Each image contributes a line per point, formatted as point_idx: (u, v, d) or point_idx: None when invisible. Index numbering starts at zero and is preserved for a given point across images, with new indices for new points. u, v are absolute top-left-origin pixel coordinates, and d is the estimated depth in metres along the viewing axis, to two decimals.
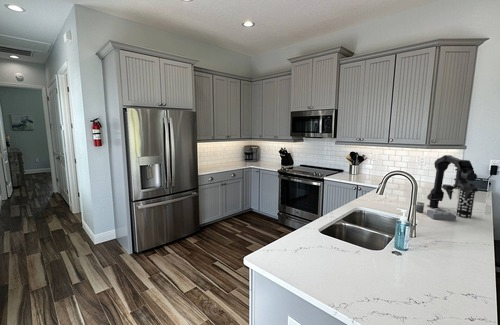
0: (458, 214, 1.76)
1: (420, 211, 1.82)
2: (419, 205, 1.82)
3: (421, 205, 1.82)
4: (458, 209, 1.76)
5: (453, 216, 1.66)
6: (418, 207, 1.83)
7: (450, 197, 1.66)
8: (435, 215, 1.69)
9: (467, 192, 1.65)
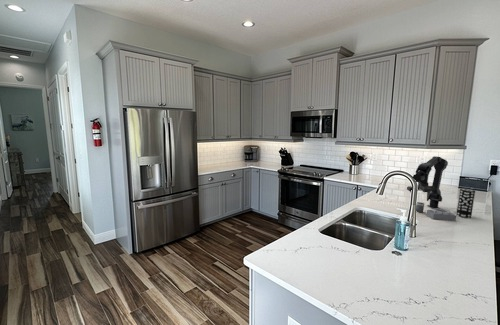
0: (458, 214, 1.76)
1: (420, 211, 1.82)
2: (419, 205, 1.82)
3: (421, 205, 1.82)
4: (458, 209, 1.76)
5: (453, 216, 1.66)
6: (418, 207, 1.83)
7: None
8: (435, 215, 1.69)
9: (428, 193, 1.82)
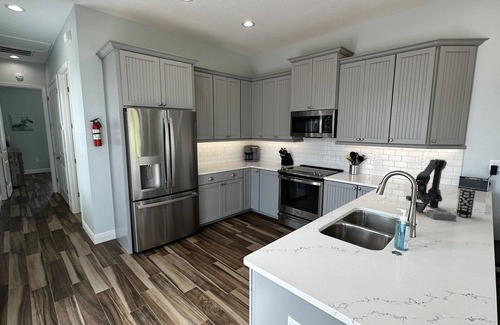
0: (458, 214, 1.76)
1: (420, 211, 1.82)
2: (419, 205, 1.82)
3: (421, 205, 1.82)
4: (458, 209, 1.76)
5: (453, 216, 1.66)
6: (418, 207, 1.83)
7: None
8: (435, 215, 1.69)
9: (424, 202, 1.83)
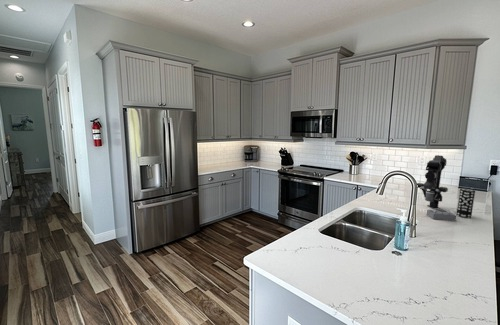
0: (458, 214, 1.76)
1: (427, 199, 1.77)
2: (427, 193, 1.77)
3: (428, 193, 1.76)
4: (458, 209, 1.76)
5: (453, 216, 1.66)
6: (426, 195, 1.78)
7: (424, 195, 1.80)
8: (435, 215, 1.69)
9: None
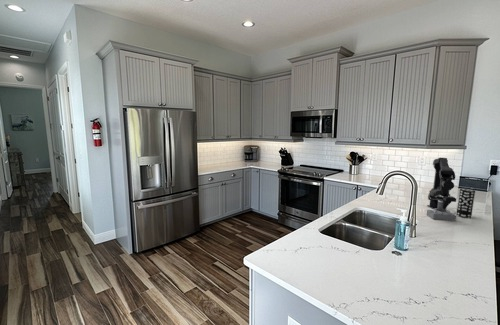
0: (458, 214, 1.76)
1: (437, 207, 1.72)
2: (438, 201, 1.72)
3: (438, 201, 1.71)
4: (458, 209, 1.76)
5: (453, 216, 1.66)
6: None
7: None
8: (435, 215, 1.69)
9: None
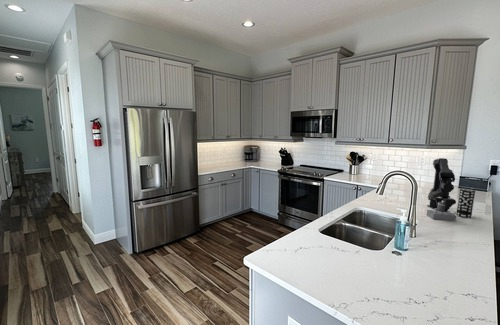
0: (458, 214, 1.76)
1: (437, 210, 1.72)
2: None
3: (438, 204, 1.71)
4: (458, 209, 1.76)
5: (453, 216, 1.66)
6: None
7: (436, 204, 1.76)
8: (435, 215, 1.69)
9: None
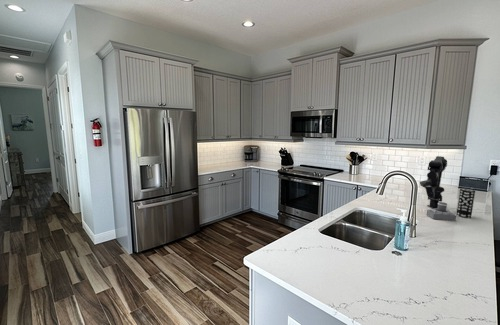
0: (458, 214, 1.76)
1: (437, 210, 1.72)
2: (438, 204, 1.73)
3: (438, 204, 1.71)
4: (458, 209, 1.76)
5: (453, 216, 1.66)
6: None
7: None
8: (435, 215, 1.69)
9: None
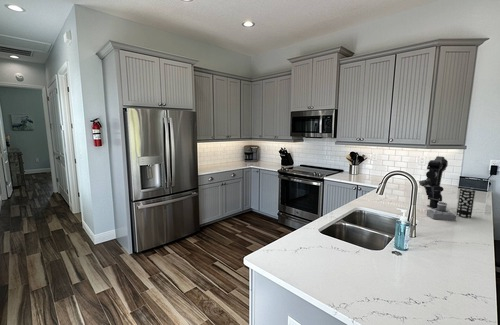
0: (458, 214, 1.76)
1: (437, 210, 1.72)
2: None
3: (438, 204, 1.71)
4: (458, 209, 1.76)
5: (453, 216, 1.66)
6: None
7: (426, 193, 1.88)
8: (435, 215, 1.69)
9: None
